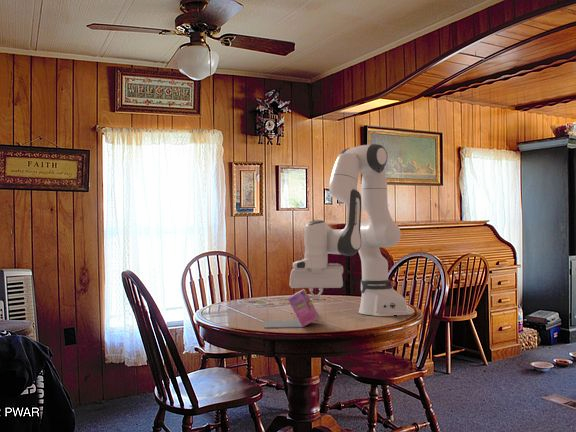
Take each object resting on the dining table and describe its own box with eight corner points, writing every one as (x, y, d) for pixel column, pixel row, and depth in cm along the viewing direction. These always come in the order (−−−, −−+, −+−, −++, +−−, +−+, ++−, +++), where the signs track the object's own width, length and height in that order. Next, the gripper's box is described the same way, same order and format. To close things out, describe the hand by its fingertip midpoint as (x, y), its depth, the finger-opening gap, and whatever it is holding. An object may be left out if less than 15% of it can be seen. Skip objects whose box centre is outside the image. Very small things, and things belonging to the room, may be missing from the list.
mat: (300, 321, 202) (300, 320, 202) (302, 327, 190) (302, 326, 190) (264, 322, 202) (264, 321, 202) (264, 328, 190) (264, 327, 190)
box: (315, 320, 190) (300, 291, 191) (302, 327, 191) (286, 299, 192) (319, 315, 200) (304, 288, 201) (306, 322, 201) (291, 295, 202)
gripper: (342, 262, 199) (342, 298, 199) (289, 262, 198) (289, 298, 198) (344, 263, 193) (344, 300, 192) (289, 264, 192) (289, 301, 192)
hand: (316, 299), depth 195 cm, fingers closed
